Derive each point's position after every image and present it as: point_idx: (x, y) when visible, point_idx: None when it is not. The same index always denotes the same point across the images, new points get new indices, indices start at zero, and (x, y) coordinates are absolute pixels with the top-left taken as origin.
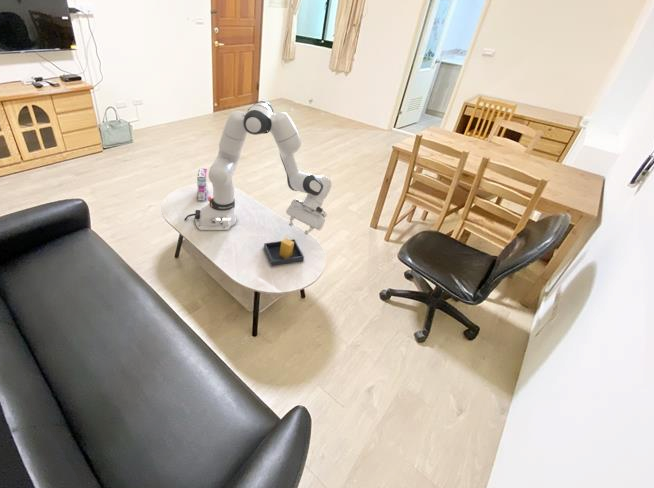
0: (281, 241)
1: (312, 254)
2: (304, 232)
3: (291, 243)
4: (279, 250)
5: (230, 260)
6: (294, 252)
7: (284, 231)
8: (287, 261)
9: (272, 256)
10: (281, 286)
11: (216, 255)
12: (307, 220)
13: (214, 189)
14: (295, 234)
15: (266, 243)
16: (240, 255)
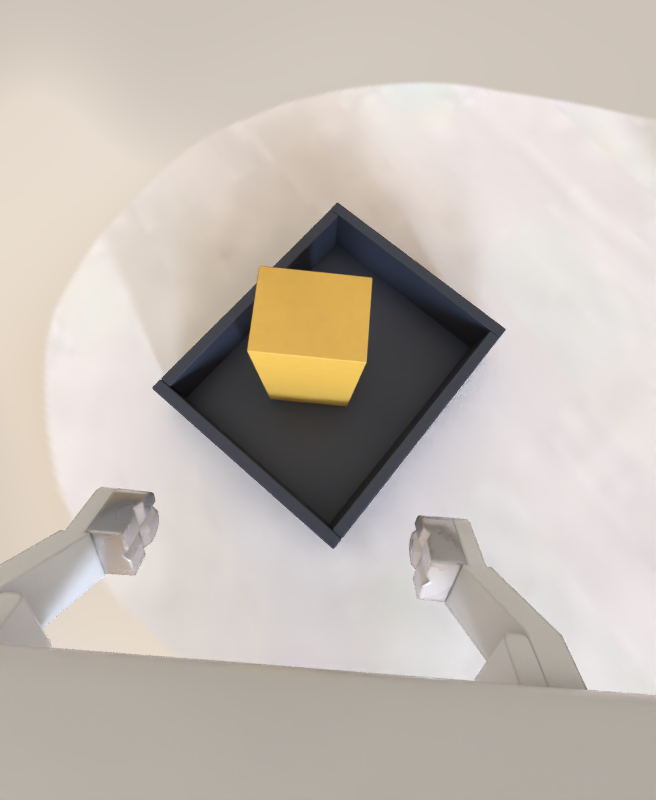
0: (370, 278)
1: None
2: (145, 495)
3: (263, 313)
4: (377, 390)
5: (557, 150)
6: (271, 444)
7: None
8: None
9: (382, 309)
10: (202, 148)
11: (644, 139)
12: (45, 764)
13: None
14: None
15: (491, 336)
16: (546, 211)
